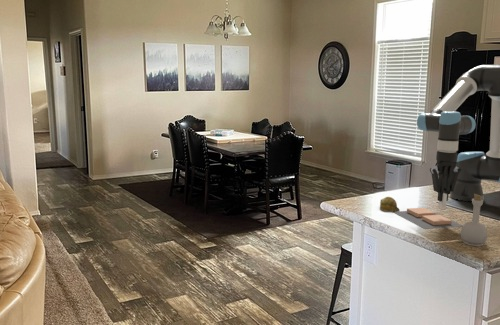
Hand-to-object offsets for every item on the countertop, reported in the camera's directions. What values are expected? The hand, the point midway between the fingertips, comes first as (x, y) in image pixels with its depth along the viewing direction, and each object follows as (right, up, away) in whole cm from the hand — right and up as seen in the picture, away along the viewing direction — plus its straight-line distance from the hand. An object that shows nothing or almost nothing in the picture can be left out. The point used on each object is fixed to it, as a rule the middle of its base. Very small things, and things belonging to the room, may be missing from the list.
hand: (441, 208), depth 187 cm
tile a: (-1, -2, +12) cm, 12 cm away
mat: (-4, -5, +5) cm, 8 cm away
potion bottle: (+2, -10, -22) cm, 24 cm away
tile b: (+2, -4, +1) cm, 5 cm away
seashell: (-16, -3, +19) cm, 25 cm away
